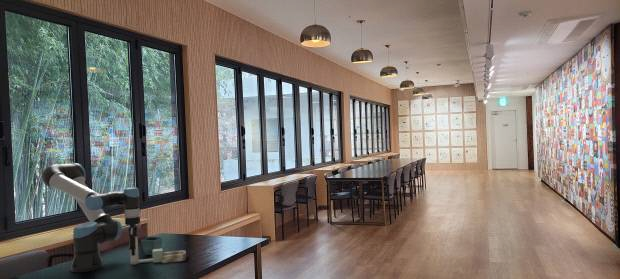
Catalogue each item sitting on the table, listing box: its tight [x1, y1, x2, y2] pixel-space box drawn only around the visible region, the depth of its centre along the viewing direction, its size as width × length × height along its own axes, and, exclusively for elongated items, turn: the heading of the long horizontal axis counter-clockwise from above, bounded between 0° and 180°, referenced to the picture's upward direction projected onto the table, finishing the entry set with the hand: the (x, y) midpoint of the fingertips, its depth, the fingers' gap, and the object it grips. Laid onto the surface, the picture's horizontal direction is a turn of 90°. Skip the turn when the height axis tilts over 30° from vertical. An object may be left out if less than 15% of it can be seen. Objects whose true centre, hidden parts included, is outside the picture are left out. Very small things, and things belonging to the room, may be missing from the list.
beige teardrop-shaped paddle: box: [128, 236, 164, 265], centre depth 245 cm, size 16×5×14 cm, turn 105°
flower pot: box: [140, 236, 163, 256], centre depth 264 cm, size 9×9×9 cm
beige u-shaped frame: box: [161, 249, 187, 264], centre depth 249 cm, size 12×9×4 cm
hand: (134, 260), depth 243 cm, fingers closed on beige teardrop-shaped paddle, 4 cm apart
